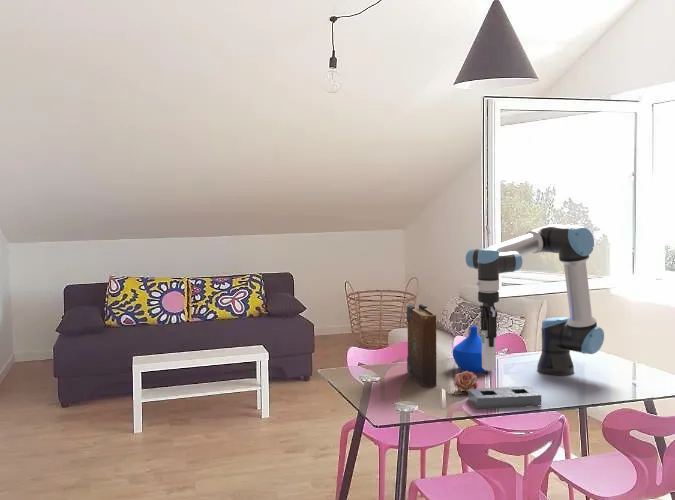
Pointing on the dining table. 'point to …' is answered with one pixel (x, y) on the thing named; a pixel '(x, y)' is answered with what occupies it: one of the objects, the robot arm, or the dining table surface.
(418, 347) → the decorative book
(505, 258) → the robot arm
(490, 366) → the plug
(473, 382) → the flower
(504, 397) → the panel
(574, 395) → the dining table surface
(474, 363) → the vase
